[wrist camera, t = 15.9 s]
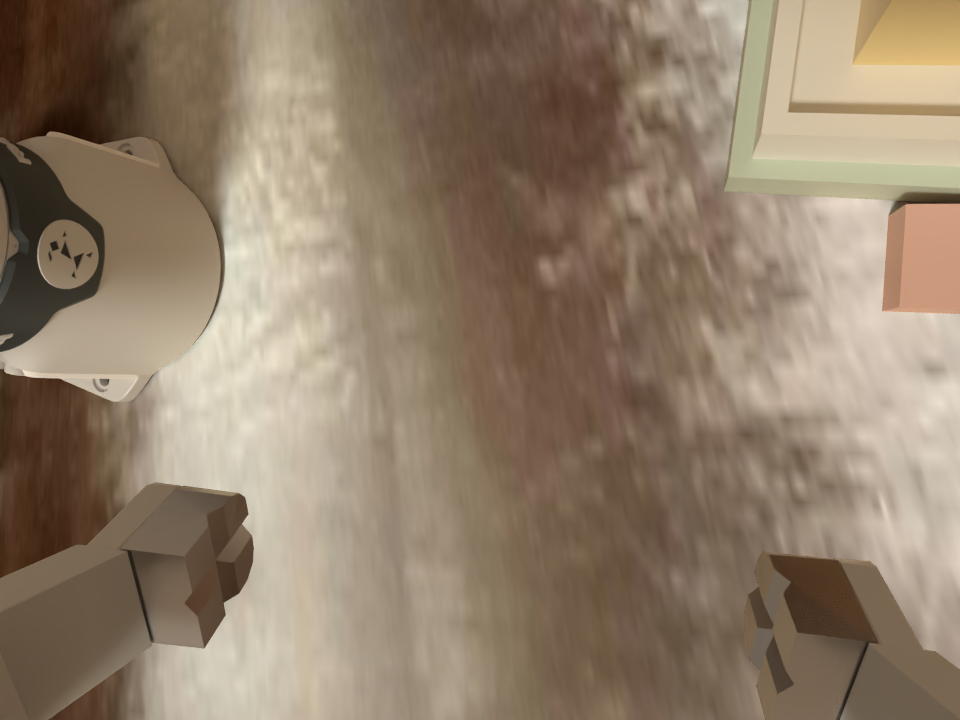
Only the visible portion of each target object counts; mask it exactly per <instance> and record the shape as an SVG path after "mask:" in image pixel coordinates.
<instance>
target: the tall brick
mask: <svg viewBox="0 0 960 720" xmlns="http://www.w3.org/2000/svg"><path fill="white" fill-rule="evenodd" d="M852 65H960V0H861V5H860V13H859V20H858V27H857V34H856V41H855V49H854V56H853V63H852Z"/></svg>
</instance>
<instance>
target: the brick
mask: <svg viewBox="0 0 960 720" xmlns="http://www.w3.org/2000/svg"><path fill="white" fill-rule="evenodd" d="M882 311H892V312H921V313H950V314H960V204H906V205H904V206H903V207H901V208H900V209H898V210H897V211H895V212H894V213H892V214H891V215H889V216H888V231H887V246H886V261H885V276H884V291H883V307H882Z"/></svg>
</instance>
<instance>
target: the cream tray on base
mask: <svg viewBox="0 0 960 720" xmlns="http://www.w3.org/2000/svg"><path fill="white" fill-rule="evenodd" d="M860 5H861V0H749V6H748V13H747V21H746V28H745V36H744V43H743V51H742V59H741V66H740V74H739V81H738V89H737V96H736V104H735V111H734V119H733V126H732V134H731V141H730V149H729V156H728V164H727V171H726V179H725V186H724V191H728V192H747V193H766V194H784V195H803V196H822V197H840V198H859V199H878V200H896V201H915V202H934V203H952V204H960V65H852V63H853V56H854V49H855V41H856V34H857V27H858V20H859V13H860Z"/></svg>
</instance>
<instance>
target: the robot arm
mask: <svg viewBox="0 0 960 720" xmlns="http://www.w3.org/2000/svg"><path fill="white" fill-rule="evenodd" d="M132 155H133V156H132ZM220 274H221V261H220V250H219V244H218V240H217V235H216V232H215V229H214V226H213V224H212V221H211V219H210V217H209V215H208V213H207V211H206V209H205V208H204V206H203V205H202V203H201V202H200V201H199V199H198V198H197V197H196V196H195V195H194V193H193V192H192V191H191V190H190V189H188V188H187V187H186V186H185V185H184V184H183V183H182V182H181V181H180V180H179V179H178V178H177V177H176V175H175V174H174V172H173V170H172V167H171V165H170V163H169V160H168V158H167V156H166V154H165V151H164V150H163V148H162V146H161V145H160V144H159V143H158V142H157V141H155V140H153V139H149V138H145V137H134V138H129V139H124V140H119V141H114V142H109V143H104V144H99V145H98V144H95V143H92V142H89V141H85V140H82V139H79V138H76V137H73V136H70V135H66V134H63V133H58V132H48V133H47V135H46V136H41V137H33V138H29V139H26V140H23V141H20V142H18V143H13V142H10V141H8V140H6V139H4V138H1V137H0V369H4V372H6V373H8V374H12V375H19V376H28V377H35V378H59V379H62V380H64V381H66V382H69V383H71V384H73V385H76V386H78V387H80V388H83V389H85V390H87V391H90V392H92V393H94V394H96V395H99V396H101V397H103V398H106V399H108V400H110V401H114V402H129V401H131V400H133V399H134V398H135V397H136V396H137V395H138V394H139V393H140V392H141V390H142V389H143V388H144V386H145V385H146V383H147V382H148V380H149V379H150V378H151V376H152V375H153V374H154V373H155V372H156V371H158V370H159V369H161V368H162V367H164V366H166V365H167V364H169V363H171V362H172V361H174V360H175V359H177V358H178V357H180V356H181V355H182V354H183V353H185V352H186V351H187V350H188V349H189V348H190V347H191V346H192V345H193V343H194V342H195V341H196V340H197V338H198V337H199V336H200V334H201V333H202V331H203V330H204V328H205V326H206V324H207V323H208V321H209V318H210V316H211V314H212V311H213V309H214V306H215V303H216V299H217V295H218V290H219V284H220ZM108 379H109V383H108ZM247 515H248V509H247V504H246V499H245V497H244V496H242V495H241V494H239V493H234V492H227V491H219V490H212V489H204V488H197V487H190V486H179V485H171V484H164V483H153V484H150V485H147V486H146V487H145V488H144V489H143V490H142V491H141V492H140V493H139V494H138V495H137V496H136V497H135V498H134V499H133V500H132V501H131V502H130V503H129V504H128V505H127V506H126V507H125V508H124V509H123V510H122V511H121V512H120V513H119V514H118V515H117V516H115V517H114V518H113V519H112V520H111V521H110V522H109V523H108V524H107V525H106V526H105V527H104V528H103V529H102V530H101V531H100V532H99V533H98V534H97V535H96V536H95V537H94V538H93V539H92V540H91V541H90V542H89V543H88V544H87V545H86V546H84V545H75V546H73V547H71V548H68V549H66V550H64V551H62V552H59V553H57V554H55V555H52V556H50V557H48V558H46V559H43V560H41V561H39V562H36V563H34V564H32V565H29V566H27V567H25V568H23V569H20V570H18V571H16V572H13V573H11V574H9V575H7V576H4V577H2V578H0V720H48V719H50V718H51V717H52V716H54V715H55V714H57V713H58V712H59V711H61V710H62V709H64V708H65V707H66V706H68V705H69V704H71V703H72V702H73V701H75V700H76V699H78V698H79V697H81V696H82V695H83V694H85V693H86V692H88V691H89V690H90V689H92V688H93V687H95V686H96V685H97V684H99V683H100V682H102V681H103V680H104V679H106V678H107V677H109V676H110V675H111V674H113V673H114V672H116V671H117V670H118V669H120V668H121V667H123V666H124V665H125V664H127V663H128V662H130V661H131V660H132V659H134V658H135V657H137V656H138V655H139V654H141V653H142V652H144V651H145V650H146V649H148V648H149V647H151V646H152V643H160V644H169V645H178V646H187V647H196V648H205V647H206V645H207V643H208V642H209V640H210V639H211V637H212V636H213V634H214V632H215V631H216V629H217V628H218V626H219V625H220V623H221V621H222V620H223V618H224V617H225V615H226V614H225V609H224V602H226V601H227V600H229V599H231V598H232V597H234V596H236V595H237V594H239V593H240V591H241V589H242V588H243V586H244V584H245V583H246V581H247V579H248V576H249V573H250V569H251V566H252V563H253V550H254V547H253V540H252V535H251V534H250V533H249V532H248V531H247V530H246V529H245V527H244V526H243V525H242V523H243V521H244V520H245V518H246V517H247ZM754 573H755V577H756V580H757V583H758V586H759V587H758V588H756V589H755V590H754V591H752V592H751V593H750V594H748V598H747V602H746V607H745V611H744V637H745V645H746V649H747V653H748V657H749V660H750V661H751V662H752V663H753V664H754V665H755V666H756V667H757V668H758V669H759V670H760V674H759V677H758V681H757V684H756V688H757V691H758V695H759V698H760V702H761V706H762V709H763V713H764V717H765V720H960V669H958V668H957V667H956V666H954V665H953V664H952V663H950V662H949V661H948V660H946V659H945V658H944V657H942V656H941V655H939V654H938V653H937V652H935V651H929V650H924V649H923V648H922V646H921V644H920V642H919V641H918V639H917V637H916V635H915V634H914V632H913V630H912V628H911V627H910V625H909V623H908V621H907V620H906V618H905V616H904V614H903V612H902V611H901V609H900V607H899V605H898V604H897V602H896V600H895V598H894V597H893V595H892V593H891V591H890V590H889V588H888V586H887V584H886V583H885V581H884V579H883V577H882V576H881V574H880V572H879V570H878V569H877V567H876V566H875V565H874V564H873V563H871V562H870V561H861V560H850V559H839V558H833V559H829V558H820V557H810V556H801V555H791V554H782V553H772V552H763V551H762V553H761V554H760V556H759V558H758V560H757V563H756V567H755V570H754Z"/></svg>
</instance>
